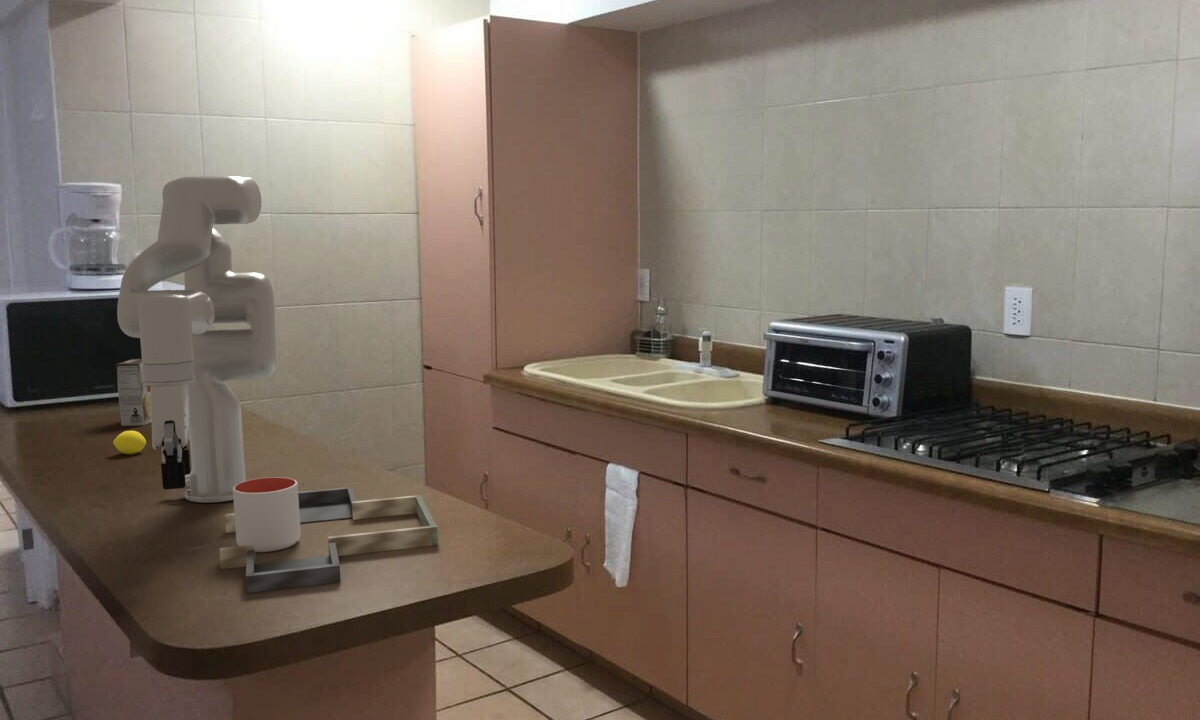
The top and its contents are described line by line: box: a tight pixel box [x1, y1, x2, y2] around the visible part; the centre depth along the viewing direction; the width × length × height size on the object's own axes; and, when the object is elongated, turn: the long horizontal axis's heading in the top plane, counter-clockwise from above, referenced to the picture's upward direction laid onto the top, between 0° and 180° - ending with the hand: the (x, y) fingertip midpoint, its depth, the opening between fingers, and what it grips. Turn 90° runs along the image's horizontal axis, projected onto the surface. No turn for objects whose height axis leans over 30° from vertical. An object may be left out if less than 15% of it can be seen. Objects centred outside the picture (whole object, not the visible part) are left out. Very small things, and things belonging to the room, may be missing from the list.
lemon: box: [112, 430, 147, 455], centre depth 238 cm, size 7×5×5 cm
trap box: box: [219, 486, 439, 594], centre depth 175 cm, size 33×44×3 cm
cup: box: [232, 476, 302, 553], centre depth 171 cm, size 10×10×10 cm
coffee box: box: [115, 358, 151, 427], centre depth 272 cm, size 9×6×16 cm
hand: (177, 481), depth 166 cm, fingers open, 9 cm apart
